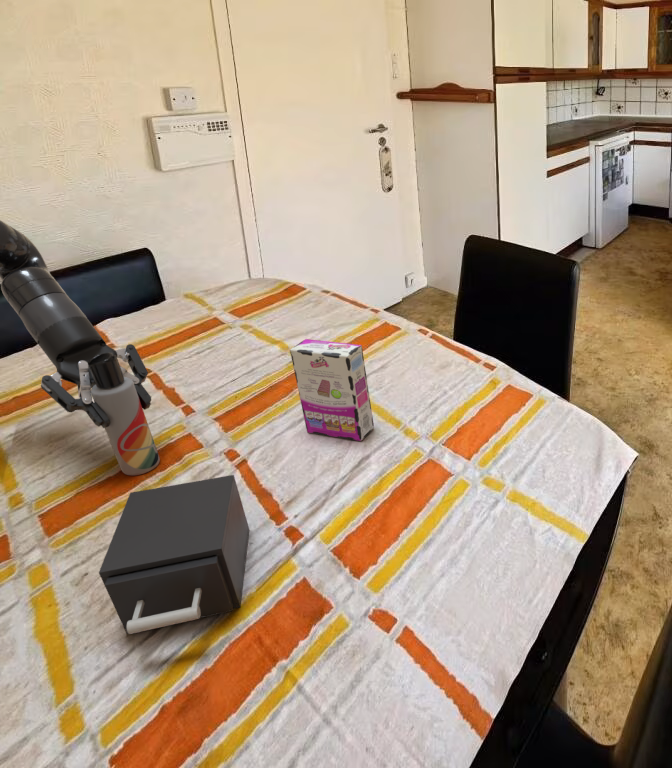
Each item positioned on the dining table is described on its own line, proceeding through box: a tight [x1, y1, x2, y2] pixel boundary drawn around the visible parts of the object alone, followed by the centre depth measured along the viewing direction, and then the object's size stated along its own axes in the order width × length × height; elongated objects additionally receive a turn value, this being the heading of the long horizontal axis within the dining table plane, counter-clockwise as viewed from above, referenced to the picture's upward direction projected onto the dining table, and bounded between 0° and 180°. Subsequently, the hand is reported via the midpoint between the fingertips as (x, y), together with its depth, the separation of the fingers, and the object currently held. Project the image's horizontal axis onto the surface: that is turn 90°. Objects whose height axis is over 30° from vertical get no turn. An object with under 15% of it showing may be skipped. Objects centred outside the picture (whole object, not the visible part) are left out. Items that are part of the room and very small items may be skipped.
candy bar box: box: [289, 338, 375, 442], centre depth 107 cm, size 11×5×16 cm, turn 73°
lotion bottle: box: [88, 353, 161, 476], centre depth 97 cm, size 6×6×20 cm
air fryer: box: [98, 474, 250, 628], centre depth 78 cm, size 15×13×10 cm
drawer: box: [104, 555, 234, 635], centre depth 75 cm, size 18×11×8 cm, turn 16°
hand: (127, 415), depth 96 cm, fingers closed on lotion bottle, 5 cm apart
